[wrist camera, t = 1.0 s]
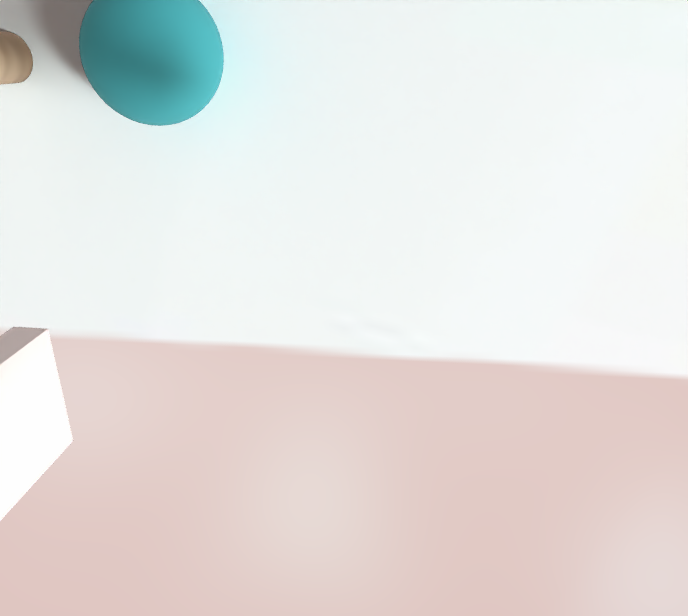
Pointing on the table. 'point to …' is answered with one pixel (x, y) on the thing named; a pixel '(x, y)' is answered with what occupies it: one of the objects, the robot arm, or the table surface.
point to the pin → (14, 59)
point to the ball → (152, 57)
